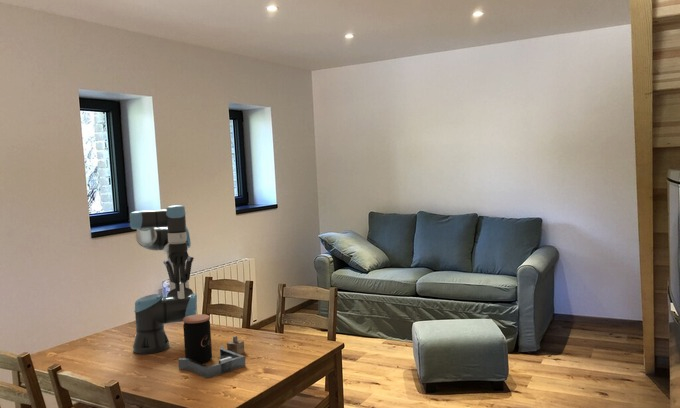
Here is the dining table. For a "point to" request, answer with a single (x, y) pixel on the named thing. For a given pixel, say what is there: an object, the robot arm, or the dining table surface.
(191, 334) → the coffee jar
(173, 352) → the dining table surface
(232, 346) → the grey block
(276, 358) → the dining table surface
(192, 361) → the gray rectangular tray
